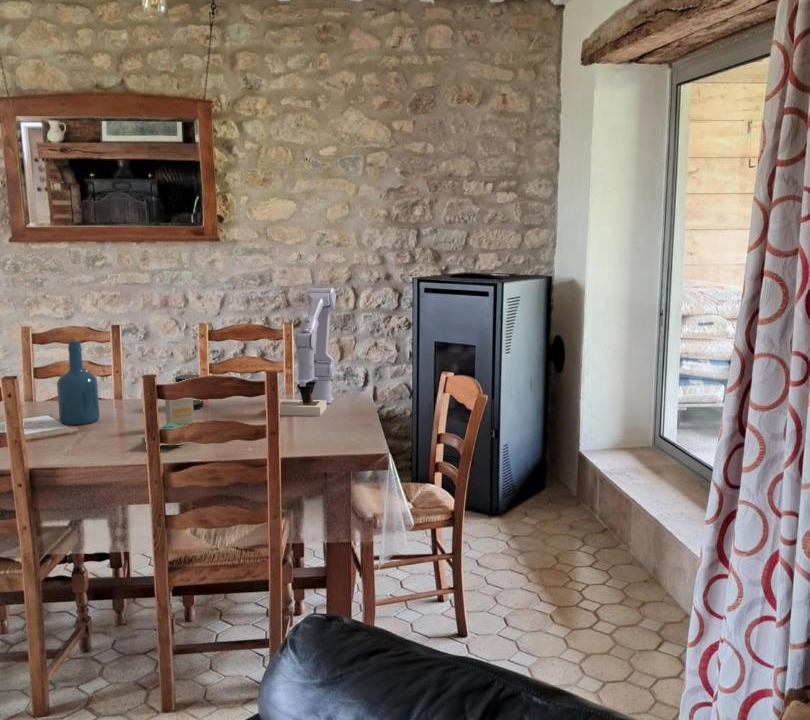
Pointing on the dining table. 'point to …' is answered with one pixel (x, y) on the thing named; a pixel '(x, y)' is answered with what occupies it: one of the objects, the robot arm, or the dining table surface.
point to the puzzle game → (167, 426)
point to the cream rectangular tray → (302, 408)
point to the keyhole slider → (309, 401)
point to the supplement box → (179, 411)
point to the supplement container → (196, 403)
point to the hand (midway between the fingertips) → (307, 402)
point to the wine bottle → (77, 390)
